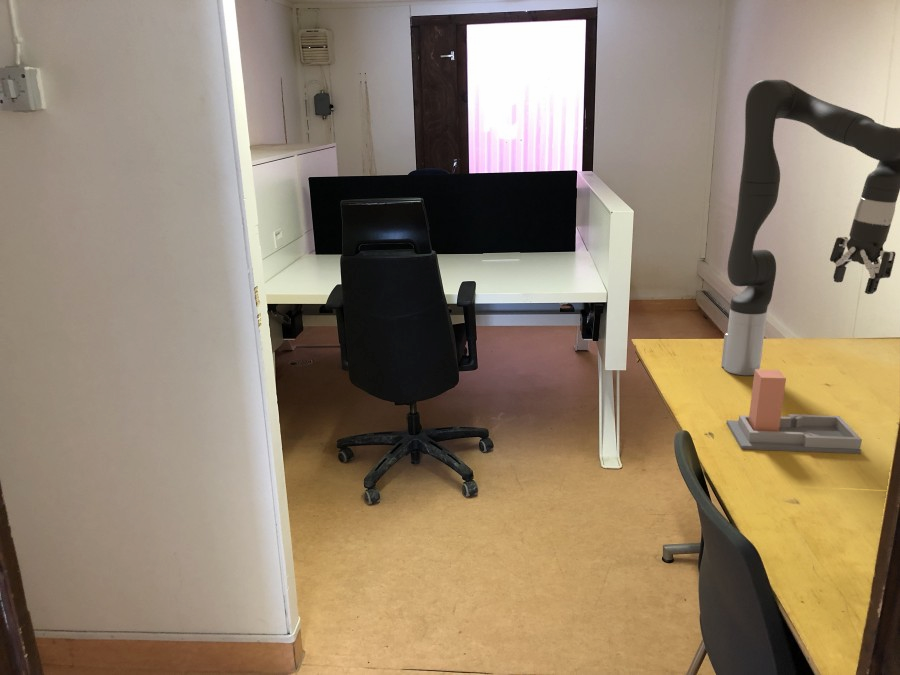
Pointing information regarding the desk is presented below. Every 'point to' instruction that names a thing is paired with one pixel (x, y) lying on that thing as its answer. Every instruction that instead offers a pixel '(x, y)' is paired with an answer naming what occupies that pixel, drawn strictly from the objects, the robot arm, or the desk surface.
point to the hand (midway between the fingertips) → (853, 287)
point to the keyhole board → (799, 435)
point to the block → (766, 400)
